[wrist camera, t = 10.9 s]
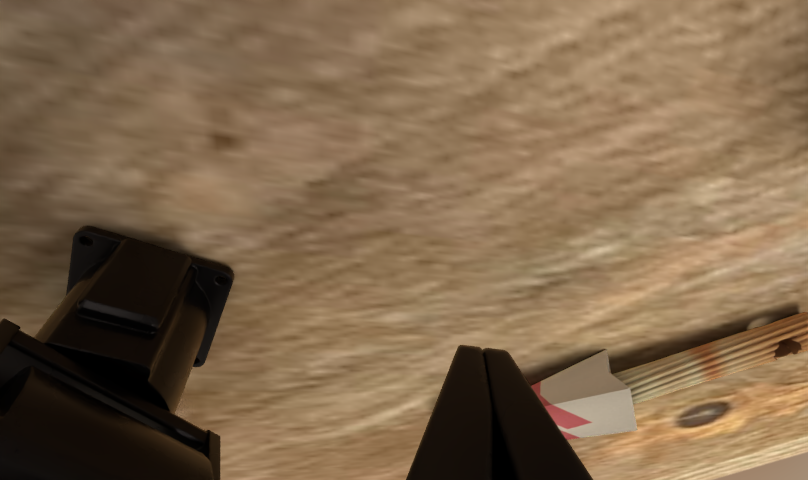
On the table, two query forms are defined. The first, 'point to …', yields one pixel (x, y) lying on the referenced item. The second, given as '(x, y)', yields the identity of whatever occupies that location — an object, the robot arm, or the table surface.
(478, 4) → the table surface
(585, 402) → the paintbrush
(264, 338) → the table surface
